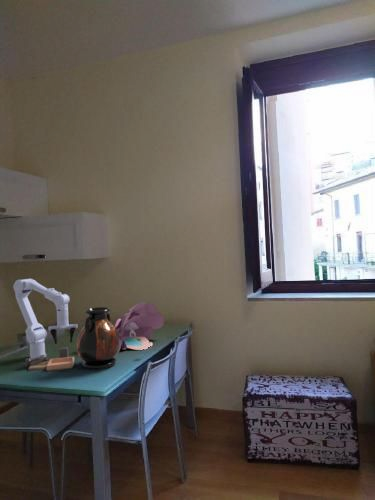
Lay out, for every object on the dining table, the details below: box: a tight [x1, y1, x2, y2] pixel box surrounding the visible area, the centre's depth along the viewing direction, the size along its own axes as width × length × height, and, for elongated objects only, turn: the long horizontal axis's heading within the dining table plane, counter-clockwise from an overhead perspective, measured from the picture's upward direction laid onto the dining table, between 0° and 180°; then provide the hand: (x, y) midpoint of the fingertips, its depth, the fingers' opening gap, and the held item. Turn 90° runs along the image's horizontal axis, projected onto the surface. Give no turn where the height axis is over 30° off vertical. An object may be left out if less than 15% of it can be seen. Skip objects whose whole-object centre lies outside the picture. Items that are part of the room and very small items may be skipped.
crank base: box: [27, 359, 50, 372], centre depth 175 cm, size 12×8×1 cm, turn 12°
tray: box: [45, 356, 75, 372], centre depth 174 cm, size 12×12×2 cm
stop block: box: [59, 347, 70, 358], centre depth 184 cm, size 4×4×6 cm
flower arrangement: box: [114, 301, 165, 351], centre depth 206 cm, size 35×24×28 cm
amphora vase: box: [76, 306, 121, 371], centre depth 173 cm, size 22×22×28 cm
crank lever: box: [24, 355, 48, 367], centre depth 177 cm, size 12×4×4 cm, turn 152°
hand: (63, 342), depth 185 cm, fingers open, 7 cm apart
